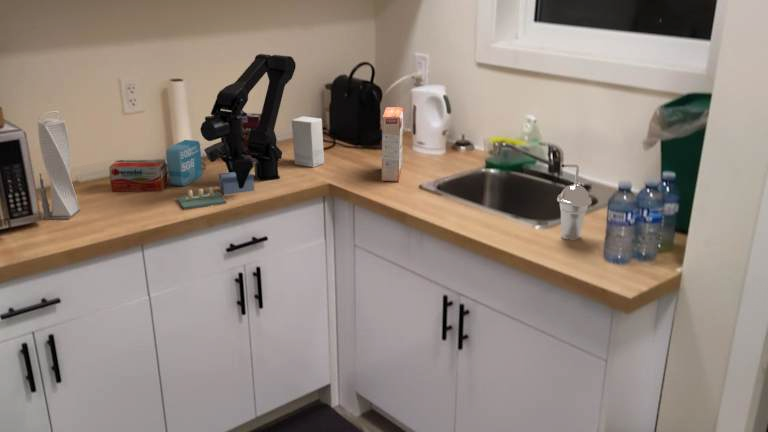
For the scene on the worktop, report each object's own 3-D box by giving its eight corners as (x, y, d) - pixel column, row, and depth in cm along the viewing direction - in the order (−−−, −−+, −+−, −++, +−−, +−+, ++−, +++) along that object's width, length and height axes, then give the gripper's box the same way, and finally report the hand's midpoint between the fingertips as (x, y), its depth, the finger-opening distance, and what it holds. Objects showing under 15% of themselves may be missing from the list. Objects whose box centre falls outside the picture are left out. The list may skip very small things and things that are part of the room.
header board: (218, 194, 210) (217, 181, 209) (226, 203, 202) (225, 190, 201) (177, 199, 205) (176, 187, 204) (183, 209, 198) (182, 196, 196)
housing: (249, 185, 218) (248, 170, 216) (254, 190, 213) (253, 174, 212) (220, 189, 214) (218, 173, 212) (224, 194, 210) (223, 178, 208)
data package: (182, 187, 215) (178, 149, 211) (169, 186, 217) (165, 148, 212) (203, 176, 226) (199, 139, 222) (190, 174, 227) (187, 138, 223)
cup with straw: (592, 242, 178) (601, 166, 170) (557, 243, 177) (564, 166, 170) (580, 229, 185) (589, 156, 178) (547, 230, 185) (554, 157, 178)
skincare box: (324, 163, 240) (323, 118, 234) (312, 168, 234) (311, 122, 229) (305, 159, 244) (303, 115, 238) (292, 164, 239) (291, 119, 233)
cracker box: (400, 182, 221) (401, 116, 214) (380, 181, 222) (381, 116, 214) (403, 169, 234) (404, 106, 227) (384, 168, 235) (385, 106, 227)
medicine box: (168, 183, 220) (165, 158, 217) (163, 191, 212) (160, 166, 209) (118, 184, 219) (115, 159, 216) (111, 192, 211) (107, 167, 208)
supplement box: (237, 161, 242) (234, 115, 236) (242, 157, 246) (239, 112, 241) (261, 162, 240) (258, 116, 235) (266, 158, 245) (263, 113, 239)
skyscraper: (57, 208, 198) (40, 109, 188) (86, 208, 198) (70, 110, 188) (43, 219, 190) (24, 117, 180) (72, 219, 190) (56, 117, 180)
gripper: (198, 129, 212) (203, 178, 218) (213, 144, 196) (217, 197, 202) (235, 125, 217) (238, 174, 222) (252, 139, 201) (255, 191, 207)
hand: (236, 183), depth 213 cm, fingers open, 9 cm apart
